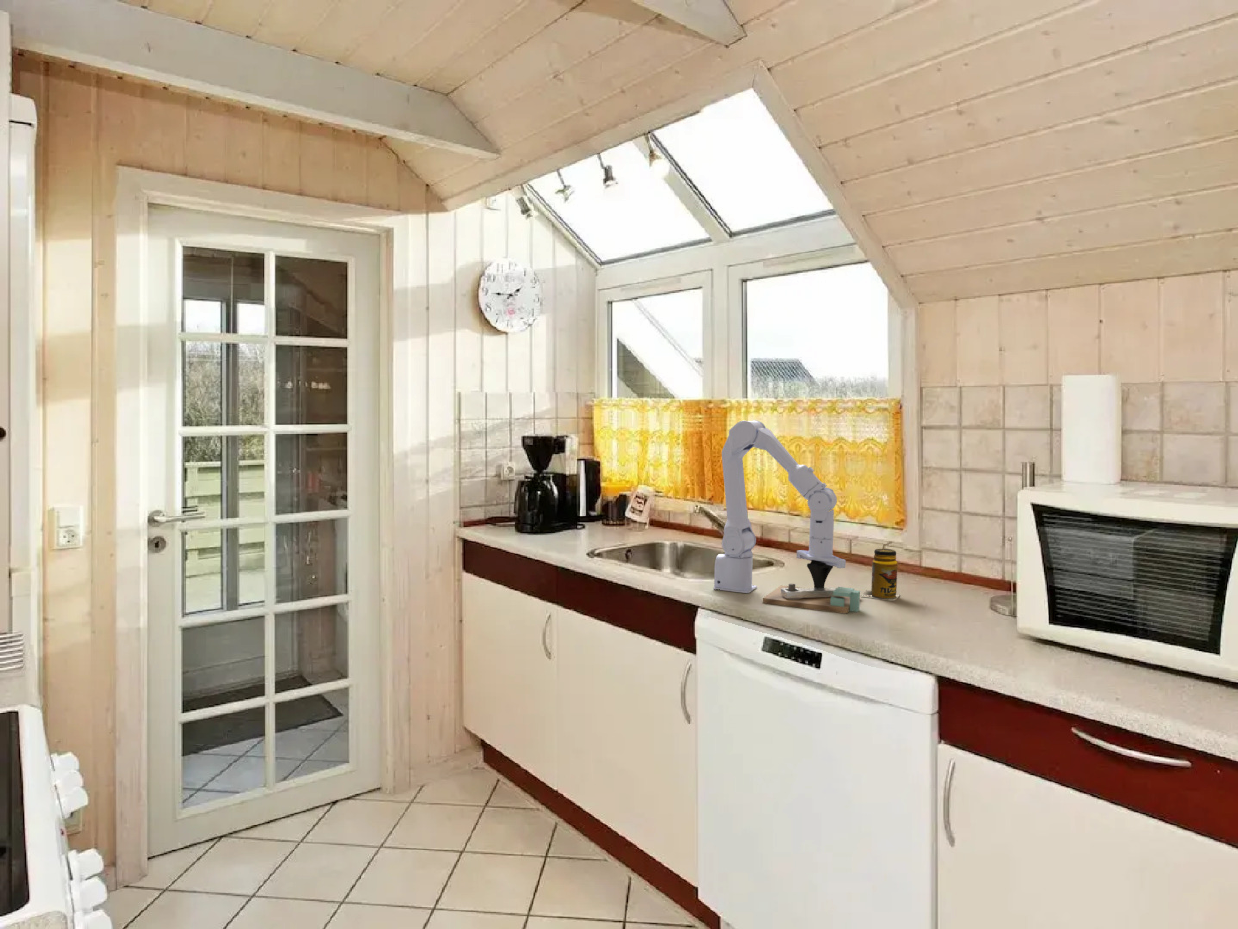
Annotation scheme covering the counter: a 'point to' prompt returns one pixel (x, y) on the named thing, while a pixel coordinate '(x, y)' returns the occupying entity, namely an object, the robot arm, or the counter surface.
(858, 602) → the keeper
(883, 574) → the condiment
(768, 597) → the board
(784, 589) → the link
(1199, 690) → the counter surface
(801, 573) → the counter surface
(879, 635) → the counter surface
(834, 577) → the counter surface
